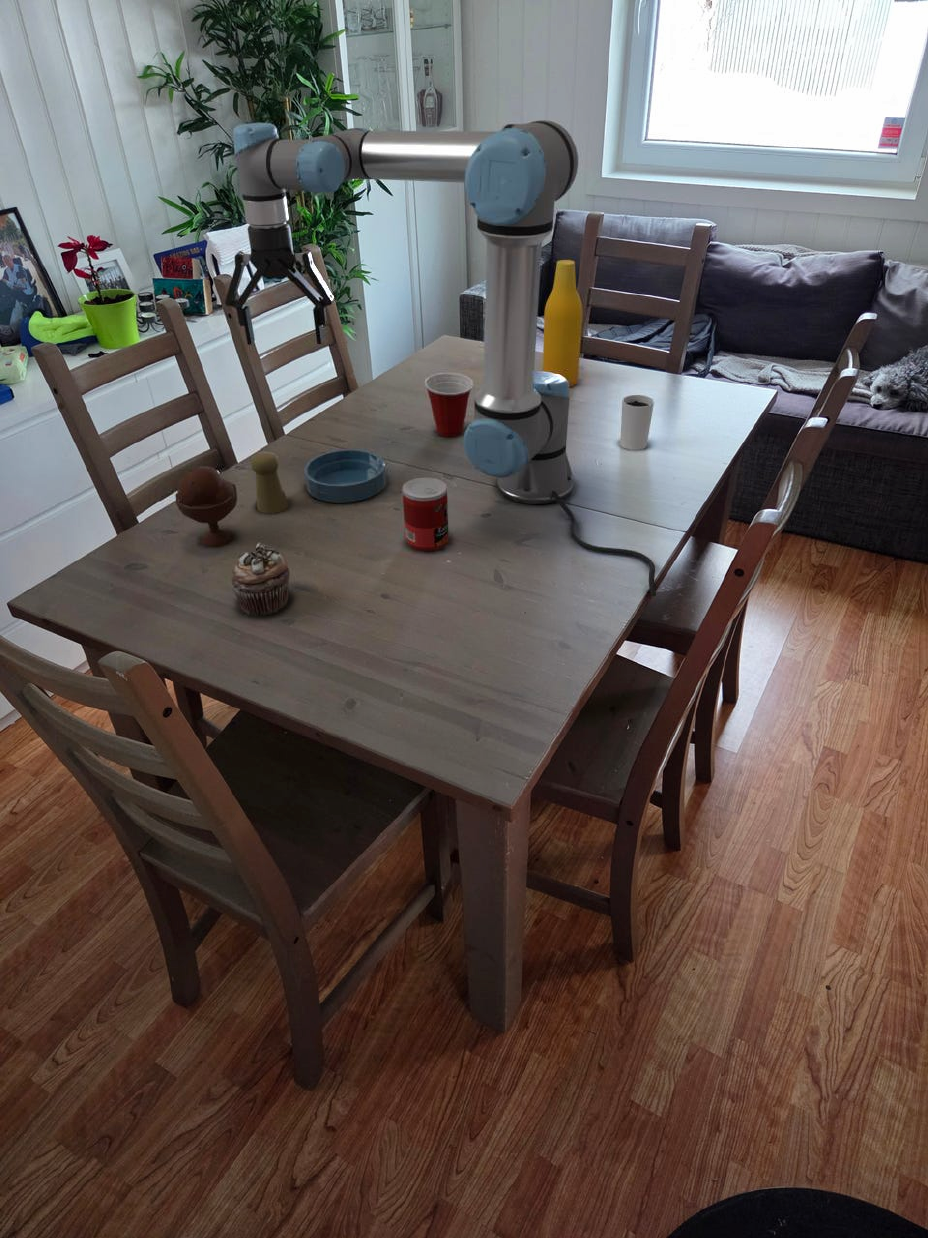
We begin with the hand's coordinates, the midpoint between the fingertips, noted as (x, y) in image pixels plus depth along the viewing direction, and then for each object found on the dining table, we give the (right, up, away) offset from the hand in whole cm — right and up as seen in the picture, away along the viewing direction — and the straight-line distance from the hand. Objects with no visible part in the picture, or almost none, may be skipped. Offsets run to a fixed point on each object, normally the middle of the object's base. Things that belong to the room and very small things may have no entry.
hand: (285, 342), depth 162 cm
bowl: (+11, -26, +9) cm, 30 cm away
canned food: (+28, -40, -9) cm, 49 cm away
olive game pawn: (-3, -31, +3) cm, 32 cm away
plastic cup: (+32, -11, +29) cm, 44 cm away
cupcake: (+1, -51, -23) cm, 56 cm away
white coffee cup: (+72, -15, +22) cm, 77 cm away
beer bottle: (+59, +7, +52) cm, 79 cm away
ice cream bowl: (-11, -39, -7) cm, 41 cm away
